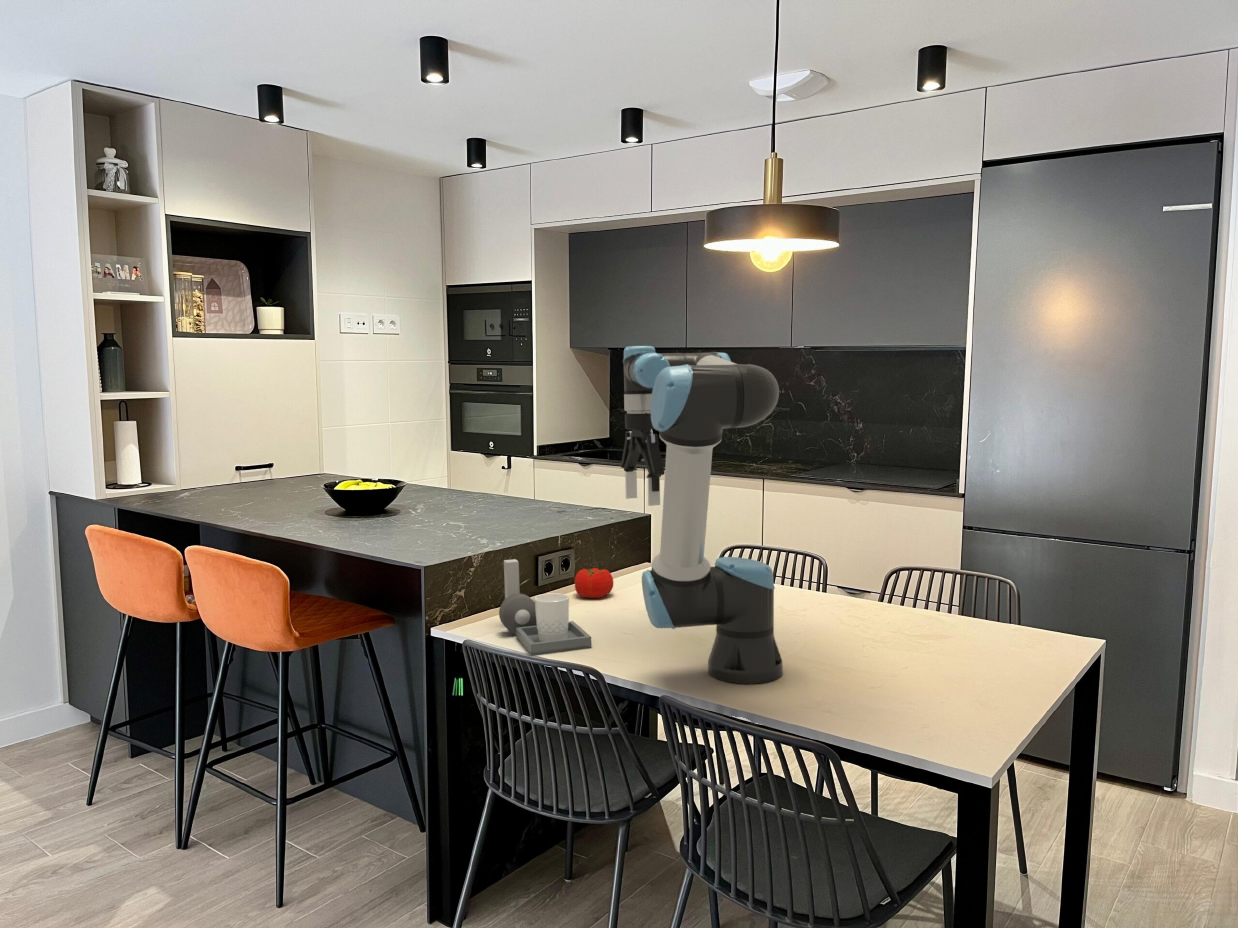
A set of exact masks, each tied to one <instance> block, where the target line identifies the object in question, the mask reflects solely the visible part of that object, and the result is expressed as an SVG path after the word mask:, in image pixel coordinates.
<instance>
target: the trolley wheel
mask: <svg viewBox="0 0 1238 928" xmlns="http://www.w3.org/2000/svg"><path fill="white" fill-rule="evenodd" d="M503 573H504V575H503V576H504V577H503V578H504V600H503V601H502V603H500V607H499V611H498V614H499V615H498V617H499V620H500V622H501V624H502V625H503V626H504V627H505V629H506V630H507V631H508V632H509V633H511V634H512V635H514V636H516V628H519V627H528V626H536V625H537V623H536V611H535V600H534V599H532V598H531V597H530V596H528V595H527V594H524V593H521V592H520V564H519V561H518V560H517V559H516V558H513V559H504V560H503Z"/></svg>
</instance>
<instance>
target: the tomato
mask: <svg viewBox="0 0 1238 928" xmlns="http://www.w3.org/2000/svg"><path fill="white" fill-rule="evenodd" d="M574 589H575V592H576V594H577V595H578V596H581V597H583V598H585V599H600V598H603V597H605V596H607V595H608V594H610V593H611V592H612V590H613V589H614V578H613V576H612V574H611V572H610V571H609V570H608V569H604V568H603V569H599V568H598V567H593V568H589V569H586V568H582V569H580V570H578V572H576V575H575V576H574Z"/></svg>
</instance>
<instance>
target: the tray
mask: <svg viewBox="0 0 1238 928" xmlns="http://www.w3.org/2000/svg"><path fill="white" fill-rule="evenodd" d="M515 639H516V640H517V641H518V642H519V643H520V645H521V646H522V647H523V648H524V649H525V650H526V652H527V654H528V653H529V655H530V654H531V655H532V656H539V655H545V654H553V653H554V654H555V653H562V652H568V651H569V652H570V651H575V650H576V651H577V650H586V649H591V648H593V646H592V636H591V635H590V634H589V633H587V632H586V631H585V629H583V628H582V627H580V626H579V625H578V623H576V622H575V621H574V620H571V621H568V639H560V640H552V641H544V642H540V641H539V639H538V630H537V625H536V626H528V627H519V628H516V635H515ZM531 655H530V656H531Z"/></svg>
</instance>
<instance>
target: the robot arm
mask: <svg viewBox="0 0 1238 928" xmlns="http://www.w3.org/2000/svg"><path fill="white" fill-rule="evenodd" d="M622 364H623V384H624V387H623V390H624V394H623V398H624V399H623V404H624V412H626V413H625V414H624V428H625V429H626V430H630V431H625V433H624V434H625V435H624V436H625V439H624V444H623V450H622V451H623V452H622V456H621V457H622V458H621V464H620V468H621V469H623V472H625V473H624V477H625V478H624V479H625V486H624V487H625V499H629V500H630V499H638V481H637V479H638V475H637V473H638V472H637V471H638V468H637V464H638V461H639V458H640V456H642V458H643V460H644V463H645V466H646V470H647V471H648V473H647V476H646V478H647V503H648V505H647V506H648V507H653V506H661V483H660V482H661V476H664V482H663V486H664V487H663V497H662V498H663V499H662V514H661V515H662V516H661V518H662V519H661V530H660V531H661V533H660V534H661V535H660V552H659V553H658V554H657V555H655V557H653V559H652V561H651V569H647V570H644V571H643V572H642V574H641V586H642V587H641V589H642V595H643V600H644V605H645V609H646V612H647V613H646V614H647V616H648V619H649V622H650V623H651V625H652V626H653V627H654V628H657V629H671V630H672V629H673V630H675V629H677V628H690V627H702V626H716V627H715V631H716V634H715V638H714V641H713V644H712V647H711V650H710V654H709V657H708V659H707V669H708V670H707V671H708V673H709V675H710V676H711V677H713V678H715V679H718V680H721V681H724V682H726V683H733V684H734V683H735V684H743V685H744V684H745V685H747V684H749V685H750V684H752V685H753V684H762V683H768V682H771V681H775V680H776V679H779V678H781V676H782V675H783V672H784V671H783V668H784V667H783V660H782V656H781V653H780V650H779V647H778V644H777V641H776V639H775V638H776V637H775V632H774V631H775V630H774V626H775V624H774V623H775V616H774V614H775V612H774V611H775V609H774V608H775V606H774V605H775V604H774V601H775V594H774V593H775V584H774V582H775V581H774V571H773V569H772V568H771V566H770V565H768V564H767V563H765V562H762V561H758V560H755V559H751V558H745V557H734V556H723V557H718V558H717V559H716V560H715V561H714V566H711V564H710V562H709V560H708V559H707V558H706V557H704V555H705V547H706V546H705V544H706V532H707V519H708V509H709V508H708V507H709V498H710V497H709V495H710V485H711V473H712V461H713V460H712V459H713V458H712V457H713V448H714V447H716V446H717V445H719V444H720V443H721V441H722V438H723V431H724V430H723V429H736V428H737V429H738V428H746V427H749V426H754V425H756V424H758V423H760V422H761V421H763V420H765V419H766V418H767V417H768V416H769V415H771V414H772V413H773V412H774V410H775V408H776V406H777V404H778V402H779V401H778V400H779V396H780V388H779V384H778V381H777V379H776V378H775V376H774V374H772V372H770V370H768V369H767V368H764V367H762V366H759V365H756V364H750V363H748V364H742V363H741V364H740V363H739V364H738V363H735V362H733V361H732V360H731V358H730V355H729V354H728V353H727V352H726V353H725V352H717V351H710V352H692V353H691V352H690V353H689V352H685V353H684V352H676V353H675V352H673V353H671V352H670V353H669V352H666V353H665V352H664V353H661V352H660V353H658V352H656V349H655V347H654V346H651V345H634V346H633V345H631V346H626V347H625V348H624V350H623V359H622ZM652 430H655V431H658V432H659V433H658V434H657V433H652ZM659 438H660V440H661V441H662V442H664V444H665V445H666V450H665V451H666V452H665V467H664V464H663V459H662V455H661V449H660V445H659ZM664 468H665V469H664Z"/></svg>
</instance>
